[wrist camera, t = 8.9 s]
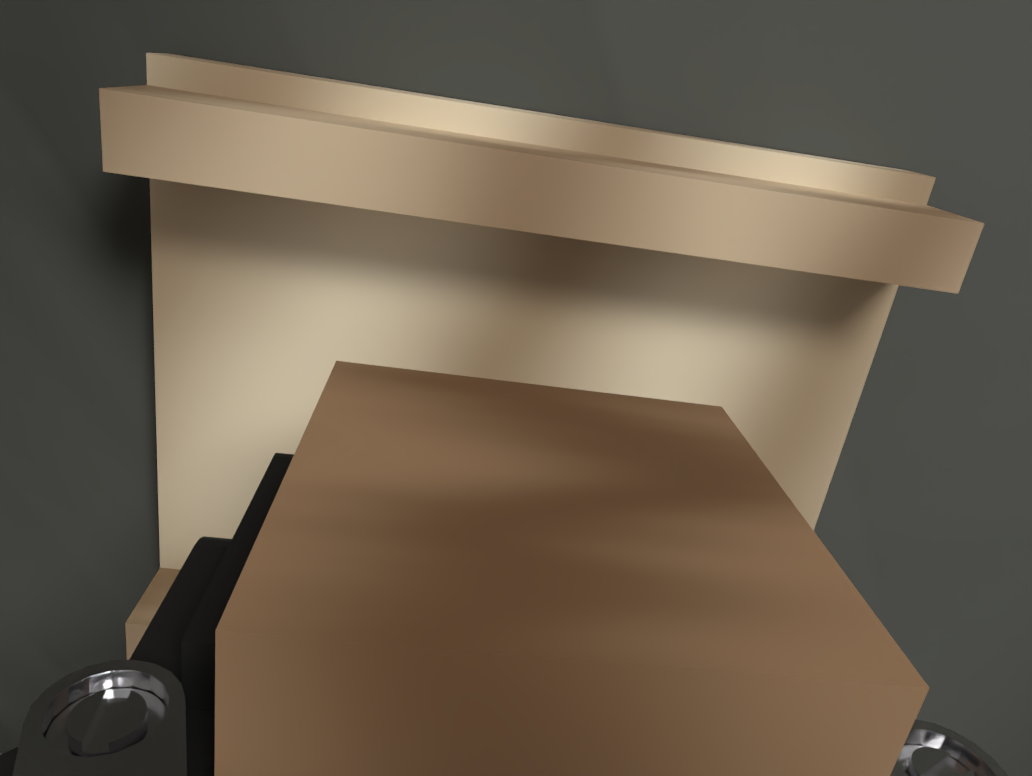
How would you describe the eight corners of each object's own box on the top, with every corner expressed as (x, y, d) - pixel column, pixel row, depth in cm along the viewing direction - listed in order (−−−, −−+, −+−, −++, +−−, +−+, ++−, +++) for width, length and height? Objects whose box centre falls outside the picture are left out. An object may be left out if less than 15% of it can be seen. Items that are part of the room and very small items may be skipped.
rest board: (907, 170, 15) (995, 193, 13) (747, 653, 20) (788, 742, 17) (168, 53, 14) (96, 51, 11) (177, 602, 18) (128, 690, 16)
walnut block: (721, 406, 11) (929, 688, 6) (641, 699, 13) (748, 1090, 8) (336, 360, 11) (214, 631, 6) (314, 674, 13) (212, 1079, 8)
